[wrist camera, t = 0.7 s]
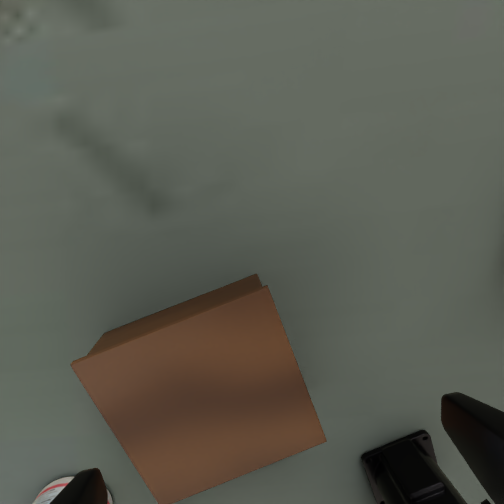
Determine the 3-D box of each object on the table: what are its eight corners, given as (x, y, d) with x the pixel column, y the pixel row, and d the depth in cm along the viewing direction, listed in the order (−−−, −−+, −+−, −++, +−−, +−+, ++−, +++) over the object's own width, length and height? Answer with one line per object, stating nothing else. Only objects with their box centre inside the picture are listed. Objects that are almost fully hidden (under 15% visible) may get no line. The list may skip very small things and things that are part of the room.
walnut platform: (310, 400, 24) (326, 441, 20) (170, 455, 24) (161, 508, 20) (259, 268, 21) (268, 287, 17) (97, 331, 21) (69, 365, 17)
